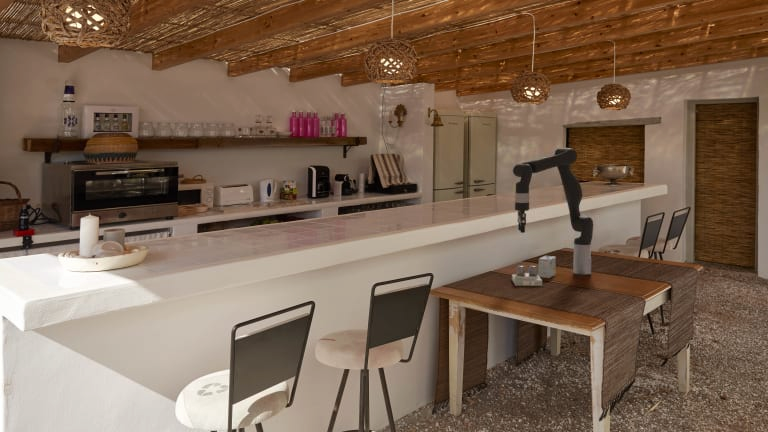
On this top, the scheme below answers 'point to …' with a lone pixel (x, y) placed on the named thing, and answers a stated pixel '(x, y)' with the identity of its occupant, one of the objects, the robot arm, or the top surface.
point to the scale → (526, 280)
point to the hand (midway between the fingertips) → (521, 231)
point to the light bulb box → (547, 266)
